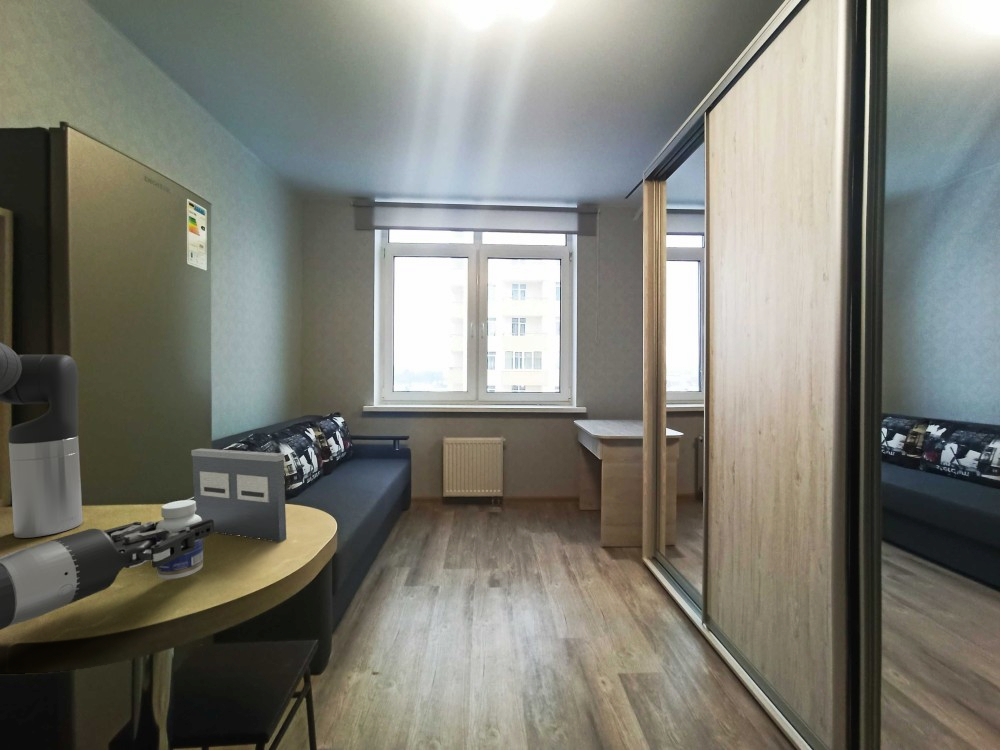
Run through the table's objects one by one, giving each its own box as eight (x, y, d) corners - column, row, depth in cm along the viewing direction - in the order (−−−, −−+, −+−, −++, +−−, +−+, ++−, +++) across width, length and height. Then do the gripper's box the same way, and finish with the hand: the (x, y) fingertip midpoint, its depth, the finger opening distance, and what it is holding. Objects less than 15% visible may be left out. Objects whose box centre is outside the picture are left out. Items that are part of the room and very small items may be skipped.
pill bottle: (153, 572, 64) (151, 504, 64) (197, 560, 68) (195, 496, 68) (161, 584, 60) (159, 512, 60) (207, 570, 64) (206, 503, 64)
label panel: (194, 530, 83) (190, 450, 83) (203, 526, 85) (200, 448, 85) (278, 542, 77) (275, 456, 76) (287, 538, 79) (284, 453, 78)
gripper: (92, 549, 48) (233, 502, 64) (13, 534, 53) (162, 494, 69) (95, 618, 48) (234, 554, 64) (15, 597, 53) (164, 542, 69)
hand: (196, 523), depth 66 cm, fingers closed on pill bottle, 5 cm apart
